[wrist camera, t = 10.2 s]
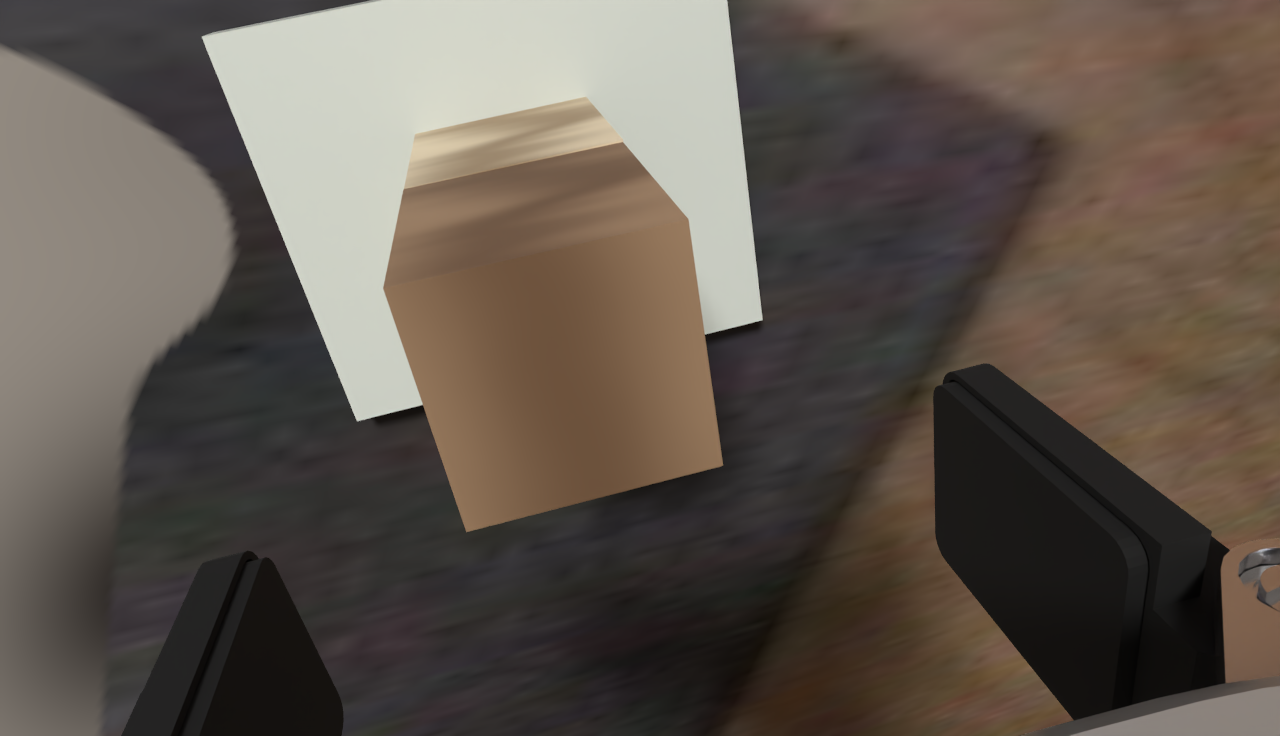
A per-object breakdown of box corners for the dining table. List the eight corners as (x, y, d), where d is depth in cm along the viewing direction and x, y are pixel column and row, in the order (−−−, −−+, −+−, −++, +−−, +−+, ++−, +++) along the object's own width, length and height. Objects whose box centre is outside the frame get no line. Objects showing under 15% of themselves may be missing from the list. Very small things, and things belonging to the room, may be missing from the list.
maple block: (585, 96, 24) (622, 139, 19) (617, 256, 26) (658, 333, 21) (415, 134, 23) (403, 188, 18) (462, 293, 26) (465, 382, 21)
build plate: (707, -68, 24) (719, -69, 23) (751, 306, 29) (762, 320, 28) (213, 32, 22) (201, 36, 21) (360, 403, 28) (357, 421, 27)
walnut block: (623, 141, 19) (688, 219, 13) (656, 336, 21) (723, 465, 16) (403, 189, 18) (382, 288, 13) (463, 382, 21) (466, 532, 15)
